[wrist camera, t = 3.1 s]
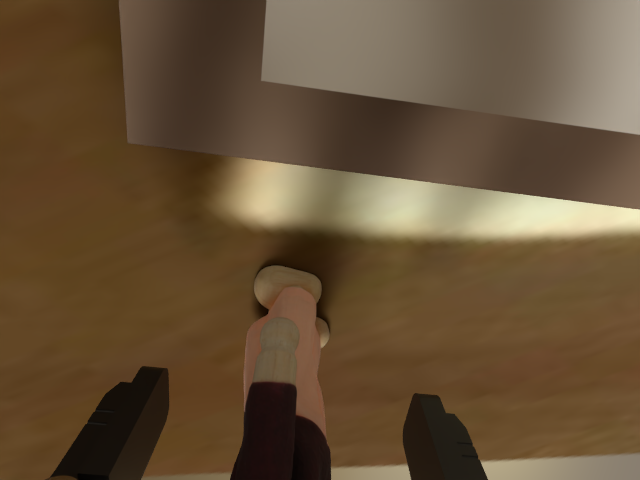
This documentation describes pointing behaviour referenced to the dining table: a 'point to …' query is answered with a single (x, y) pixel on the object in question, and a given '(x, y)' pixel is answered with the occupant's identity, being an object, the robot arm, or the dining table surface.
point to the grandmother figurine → (284, 382)
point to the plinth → (340, 129)
